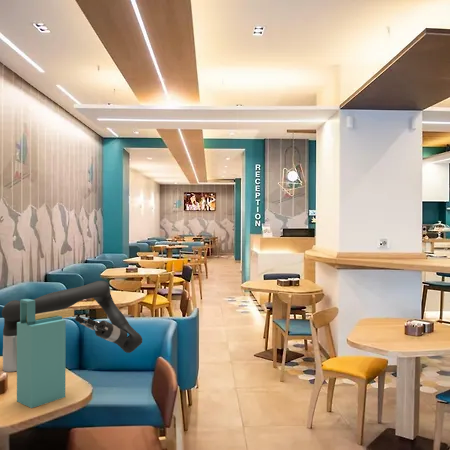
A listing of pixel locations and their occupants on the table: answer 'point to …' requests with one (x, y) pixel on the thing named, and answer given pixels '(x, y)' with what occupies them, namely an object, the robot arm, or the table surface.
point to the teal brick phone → (40, 357)
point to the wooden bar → (54, 314)
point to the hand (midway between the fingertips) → (81, 319)
